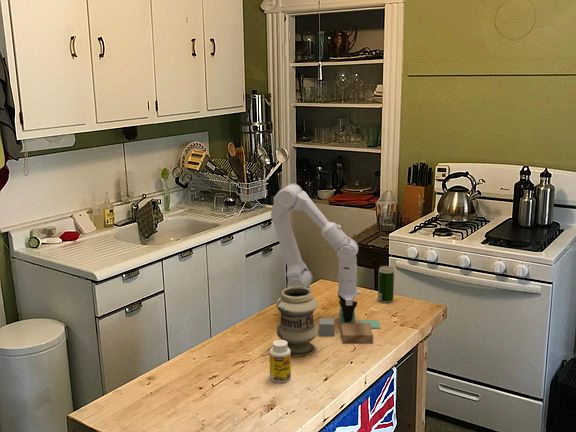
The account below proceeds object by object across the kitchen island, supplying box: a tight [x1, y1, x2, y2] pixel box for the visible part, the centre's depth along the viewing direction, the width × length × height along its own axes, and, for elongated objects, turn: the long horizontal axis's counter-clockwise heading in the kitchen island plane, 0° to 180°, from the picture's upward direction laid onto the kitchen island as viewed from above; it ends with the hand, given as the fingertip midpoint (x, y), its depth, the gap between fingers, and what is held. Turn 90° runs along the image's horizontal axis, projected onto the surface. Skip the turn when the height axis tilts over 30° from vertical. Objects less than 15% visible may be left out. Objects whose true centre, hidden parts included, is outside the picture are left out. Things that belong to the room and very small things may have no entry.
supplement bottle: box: [269, 339, 292, 383], centre depth 163 cm, size 6×6×10 cm
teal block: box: [339, 307, 356, 326], centre depth 199 cm, size 4×4×4 cm
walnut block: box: [340, 322, 374, 345], centre depth 189 cm, size 9×9×3 cm
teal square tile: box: [358, 319, 381, 330], centre depth 198 cm, size 6×6×1 cm
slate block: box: [318, 317, 335, 337], centre depth 192 cm, size 4×4×4 cm
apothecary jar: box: [275, 286, 319, 357], centre depth 180 cm, size 12×12×18 cm
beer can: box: [377, 265, 395, 304], centre depth 217 cm, size 5×5×12 cm
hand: (347, 318), depth 199 cm, fingers closed on teal block, 4 cm apart
